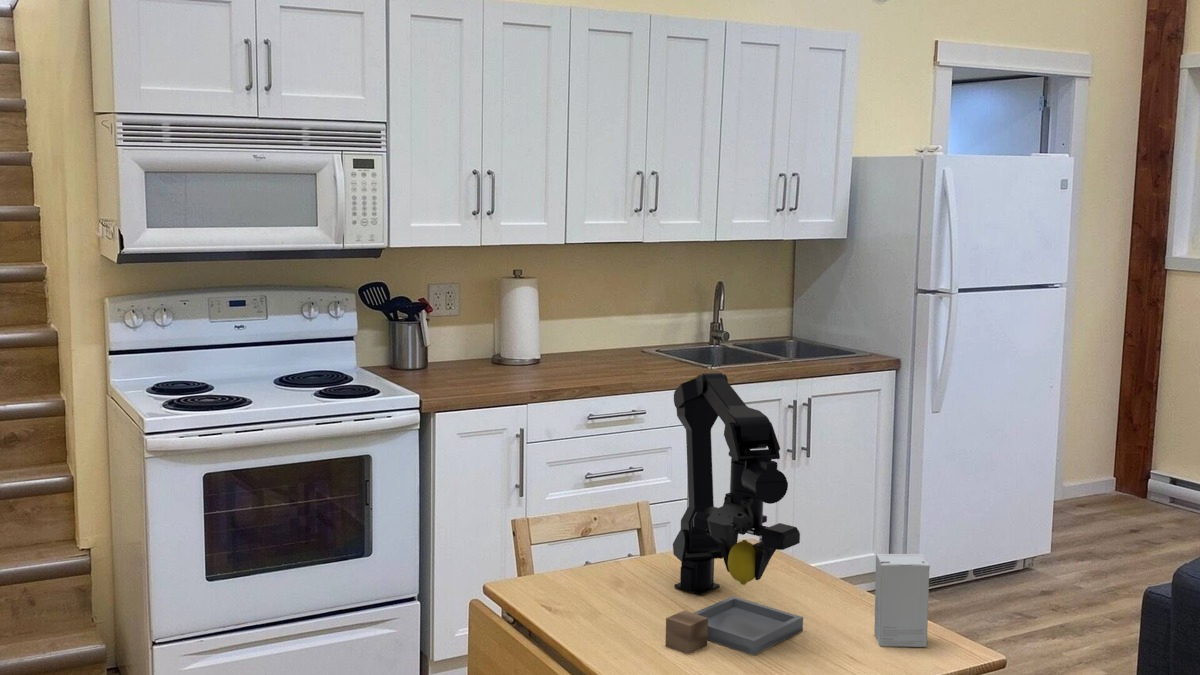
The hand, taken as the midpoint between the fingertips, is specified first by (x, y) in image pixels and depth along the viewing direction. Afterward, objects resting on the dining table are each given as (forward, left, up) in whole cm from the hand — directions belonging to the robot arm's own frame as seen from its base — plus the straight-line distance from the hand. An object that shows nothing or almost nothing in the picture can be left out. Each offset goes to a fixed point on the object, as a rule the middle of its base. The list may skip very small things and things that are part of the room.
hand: (743, 575), depth 205 cm
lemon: (0, 0, -2) cm, 2 cm away
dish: (0, 0, -10) cm, 10 cm away
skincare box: (-15, +22, -10) cm, 29 cm away
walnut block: (+12, -3, -10) cm, 16 cm away
